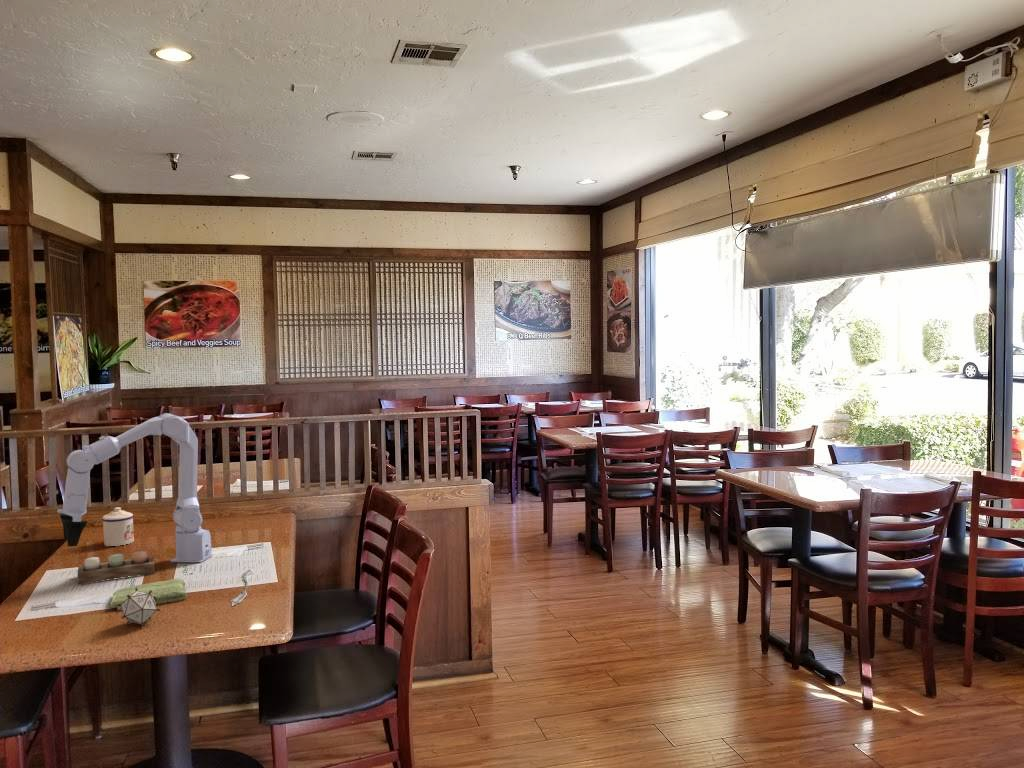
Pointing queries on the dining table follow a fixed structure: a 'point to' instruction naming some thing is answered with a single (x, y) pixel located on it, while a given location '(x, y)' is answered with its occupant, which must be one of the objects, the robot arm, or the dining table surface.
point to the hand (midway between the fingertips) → (70, 543)
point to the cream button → (92, 563)
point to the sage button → (116, 560)
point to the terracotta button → (139, 557)
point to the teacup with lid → (118, 528)
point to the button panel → (115, 571)
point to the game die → (139, 607)
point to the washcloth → (153, 592)
